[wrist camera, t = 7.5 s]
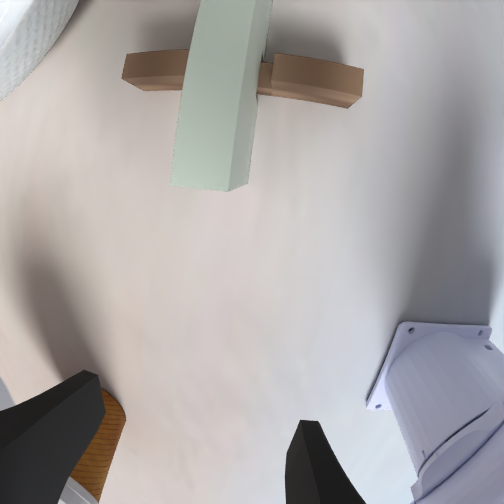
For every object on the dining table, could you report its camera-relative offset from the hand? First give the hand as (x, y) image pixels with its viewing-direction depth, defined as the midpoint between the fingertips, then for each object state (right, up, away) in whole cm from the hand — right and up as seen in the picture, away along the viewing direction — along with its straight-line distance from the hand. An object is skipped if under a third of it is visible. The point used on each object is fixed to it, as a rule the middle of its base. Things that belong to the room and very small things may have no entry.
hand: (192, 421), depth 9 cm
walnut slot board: (+2, +15, +6) cm, 17 cm away
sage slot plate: (+2, +15, +6) cm, 17 cm away
